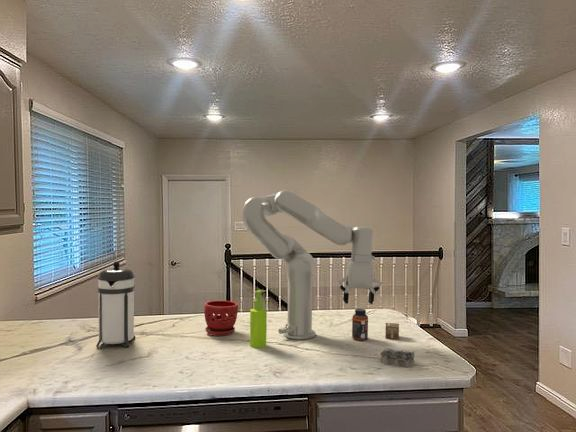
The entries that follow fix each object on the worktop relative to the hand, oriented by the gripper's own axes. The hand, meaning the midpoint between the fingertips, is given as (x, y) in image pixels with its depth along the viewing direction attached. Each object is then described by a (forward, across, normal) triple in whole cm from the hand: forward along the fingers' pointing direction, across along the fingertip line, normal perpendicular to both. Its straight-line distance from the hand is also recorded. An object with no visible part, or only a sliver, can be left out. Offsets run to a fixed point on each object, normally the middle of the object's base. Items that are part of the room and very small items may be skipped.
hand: (358, 303), depth 177 cm
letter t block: (+13, -14, 0) cm, 20 cm away
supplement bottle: (+14, -1, 0) cm, 14 cm away
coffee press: (+18, +89, -5) cm, 91 cm away
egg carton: (+14, -6, +27) cm, 31 cm away
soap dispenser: (+16, +38, +4) cm, 41 cm away
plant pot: (+16, +51, -13) cm, 56 cm away
